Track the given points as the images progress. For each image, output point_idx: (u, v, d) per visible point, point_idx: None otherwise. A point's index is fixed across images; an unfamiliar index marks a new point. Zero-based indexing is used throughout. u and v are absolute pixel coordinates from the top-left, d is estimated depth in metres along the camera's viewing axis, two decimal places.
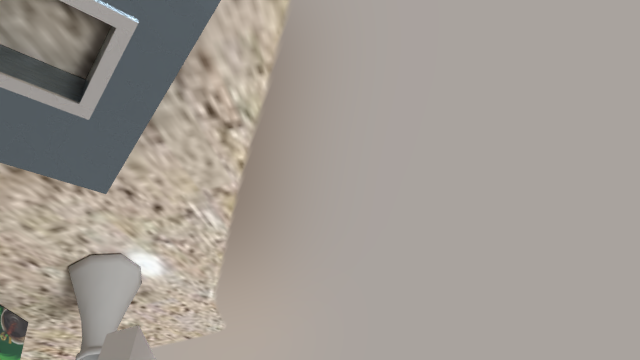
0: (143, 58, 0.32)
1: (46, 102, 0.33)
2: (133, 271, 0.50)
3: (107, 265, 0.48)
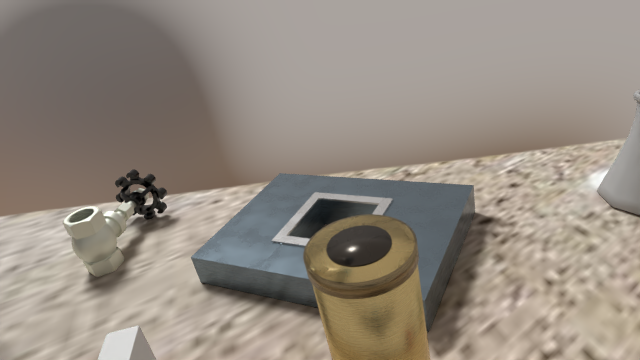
0: (339, 188, 0.50)
1: (381, 214, 0.44)
2: None
3: (608, 186, 0.44)
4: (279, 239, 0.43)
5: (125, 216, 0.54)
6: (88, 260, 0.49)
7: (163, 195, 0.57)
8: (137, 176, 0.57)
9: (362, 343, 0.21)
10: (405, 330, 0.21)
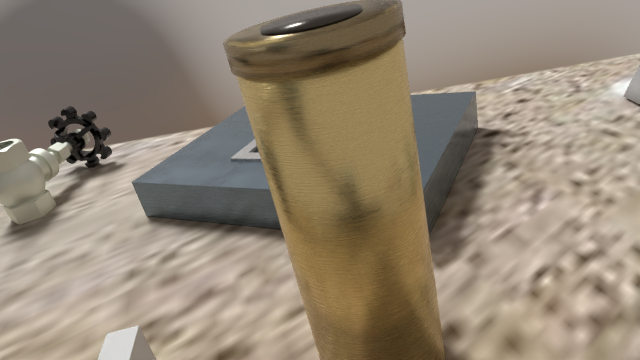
0: None
1: None
2: None
3: (638, 86, 0.36)
4: (240, 156, 0.35)
5: (58, 157, 0.45)
6: (8, 202, 0.40)
7: (106, 135, 0.48)
8: (74, 114, 0.48)
9: (318, 170, 0.13)
10: (386, 147, 0.13)
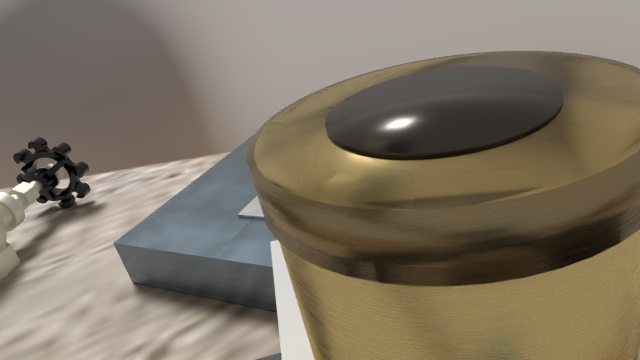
0: None
1: None
2: None
3: None
4: (250, 212, 0.28)
5: (24, 200, 0.38)
6: None
7: (83, 171, 0.41)
8: (44, 146, 0.40)
9: None
10: None
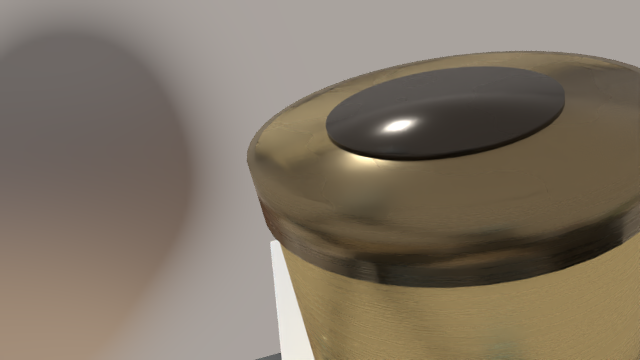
0: None
1: None
2: None
3: None
4: None
5: None
6: None
7: None
8: None
9: None
10: None
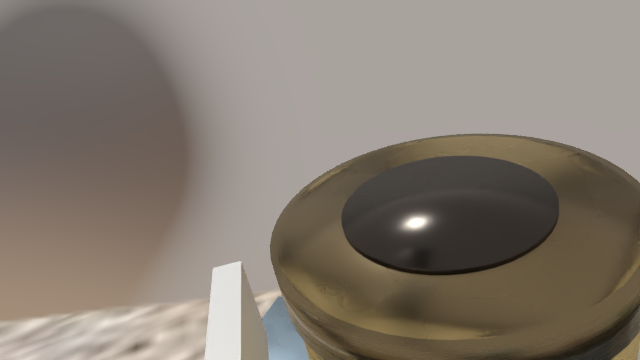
0: None
1: None
2: None
3: None
4: None
5: None
6: None
7: None
8: None
9: None
10: None
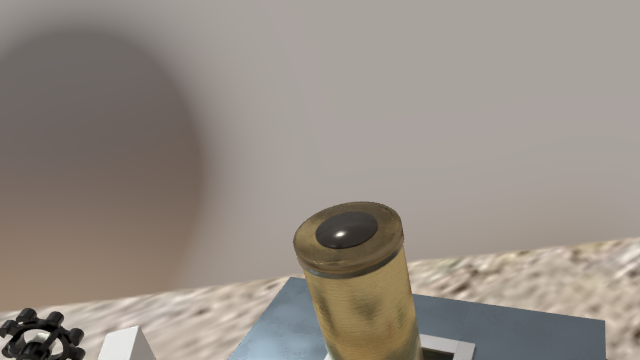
0: None
1: None
2: None
3: None
4: None
5: None
6: None
7: (78, 340, 0.38)
8: (34, 317, 0.37)
9: (352, 324, 0.22)
10: (393, 310, 0.22)
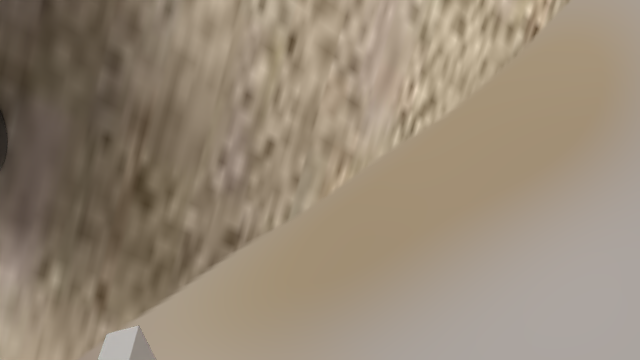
0: None
1: None
2: None
3: None
4: None
5: None
6: None
7: None
8: None
9: None
10: None
